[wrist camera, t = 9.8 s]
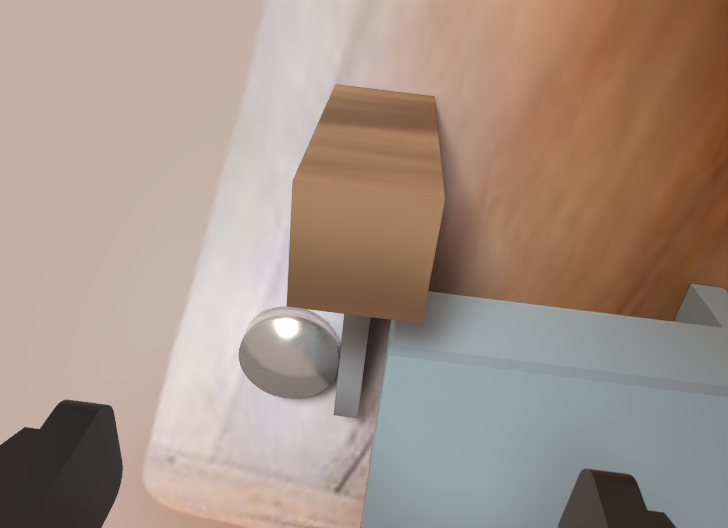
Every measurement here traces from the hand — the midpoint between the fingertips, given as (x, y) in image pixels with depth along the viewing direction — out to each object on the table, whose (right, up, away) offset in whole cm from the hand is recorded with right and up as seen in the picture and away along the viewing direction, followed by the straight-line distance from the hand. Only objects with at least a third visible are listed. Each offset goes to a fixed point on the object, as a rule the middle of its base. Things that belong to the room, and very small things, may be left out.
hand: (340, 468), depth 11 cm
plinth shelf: (+9, -1, +20) cm, 22 cm away
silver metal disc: (-3, -1, +21) cm, 21 cm away
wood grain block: (0, +4, +18) cm, 18 cm away
